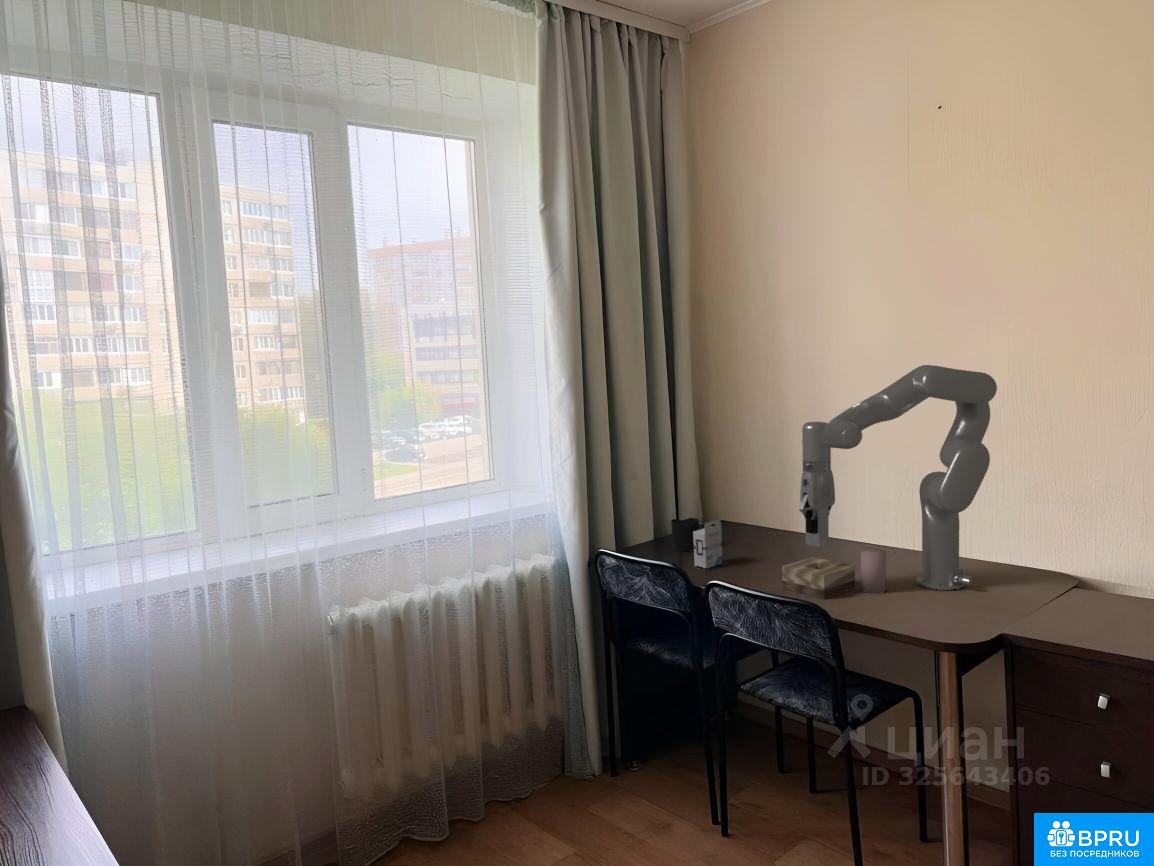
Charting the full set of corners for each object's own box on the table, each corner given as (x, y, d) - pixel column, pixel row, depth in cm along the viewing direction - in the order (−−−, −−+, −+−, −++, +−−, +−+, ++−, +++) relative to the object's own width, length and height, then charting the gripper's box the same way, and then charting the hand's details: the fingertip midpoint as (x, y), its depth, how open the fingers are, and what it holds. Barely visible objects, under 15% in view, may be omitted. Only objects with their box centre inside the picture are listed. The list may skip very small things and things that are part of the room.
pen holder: (680, 544, 294) (679, 516, 293) (704, 547, 289) (703, 518, 288) (667, 550, 287) (666, 522, 285) (691, 554, 281) (690, 524, 280)
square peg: (828, 544, 236) (828, 505, 235) (818, 546, 233) (818, 507, 232) (815, 541, 239) (815, 503, 238) (805, 544, 237) (805, 505, 235)
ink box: (710, 561, 270) (709, 516, 269) (723, 564, 267) (721, 518, 265) (693, 567, 265) (692, 521, 263) (706, 570, 261) (704, 523, 259)
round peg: (890, 590, 233) (890, 551, 232) (877, 595, 230) (876, 555, 228) (869, 585, 239) (869, 547, 237) (856, 590, 235) (855, 551, 233)
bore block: (855, 588, 236) (854, 565, 236) (824, 599, 228) (823, 576, 227) (813, 578, 247) (813, 556, 247) (782, 588, 239) (782, 566, 238)
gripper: (808, 471, 226) (809, 538, 228) (846, 464, 236) (846, 528, 238) (786, 469, 232) (786, 534, 234) (824, 461, 242) (824, 524, 244)
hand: (817, 530), depth 236 cm, fingers closed on square peg, 4 cm apart
